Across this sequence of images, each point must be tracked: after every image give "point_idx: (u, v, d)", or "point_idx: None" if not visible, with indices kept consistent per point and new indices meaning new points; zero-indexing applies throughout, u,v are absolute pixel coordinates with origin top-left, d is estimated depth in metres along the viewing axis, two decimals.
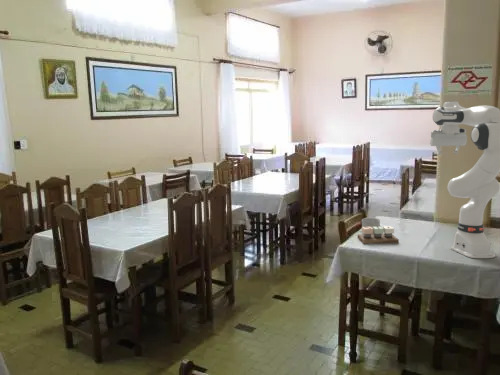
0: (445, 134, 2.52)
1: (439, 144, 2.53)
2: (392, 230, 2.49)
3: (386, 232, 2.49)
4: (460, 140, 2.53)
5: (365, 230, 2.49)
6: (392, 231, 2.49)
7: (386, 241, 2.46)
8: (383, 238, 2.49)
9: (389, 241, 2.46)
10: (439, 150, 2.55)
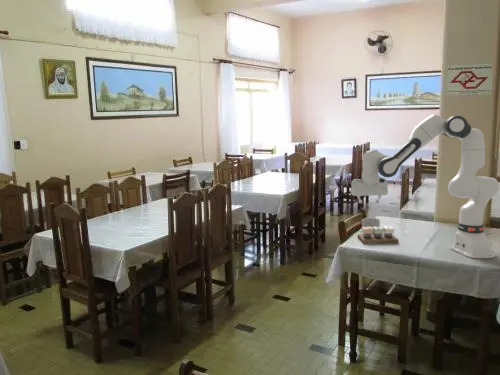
0: (365, 184, 2.45)
1: (359, 194, 2.46)
2: (392, 230, 2.49)
3: (386, 232, 2.49)
4: (381, 190, 2.46)
5: (365, 230, 2.49)
6: (392, 231, 2.49)
7: (386, 241, 2.46)
8: (383, 238, 2.49)
9: (389, 241, 2.46)
10: (359, 199, 2.48)
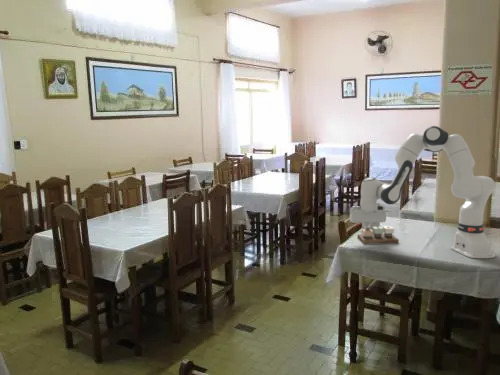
0: (363, 211, 2.48)
1: (358, 221, 2.49)
2: (392, 230, 2.49)
3: (386, 232, 2.49)
4: (379, 217, 2.49)
5: (365, 232, 2.49)
6: (392, 231, 2.49)
7: (386, 241, 2.46)
8: (383, 238, 2.49)
9: (389, 241, 2.46)
10: (365, 226, 2.50)
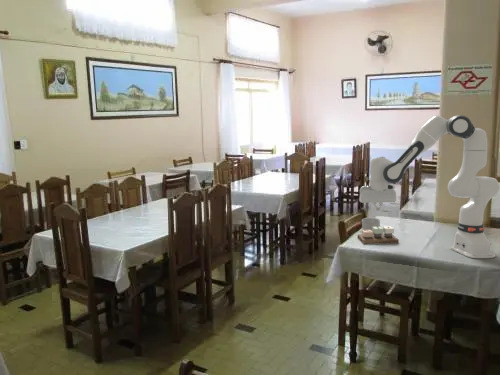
0: (373, 190, 2.44)
1: (368, 201, 2.45)
2: (392, 230, 2.49)
3: (386, 232, 2.49)
4: (389, 196, 2.45)
5: (365, 233, 2.49)
6: (392, 231, 2.49)
7: (386, 241, 2.46)
8: (383, 238, 2.49)
9: (389, 241, 2.46)
10: (375, 207, 2.46)
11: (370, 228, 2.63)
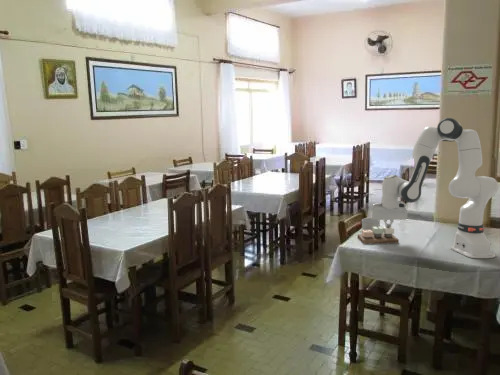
0: (385, 208, 2.48)
1: (379, 218, 2.49)
2: (392, 230, 2.49)
3: (386, 232, 2.49)
4: (400, 214, 2.49)
5: (365, 233, 2.49)
6: (392, 232, 2.49)
7: (386, 241, 2.46)
8: (383, 238, 2.49)
9: (389, 241, 2.46)
10: (386, 224, 2.51)
11: (370, 228, 2.63)
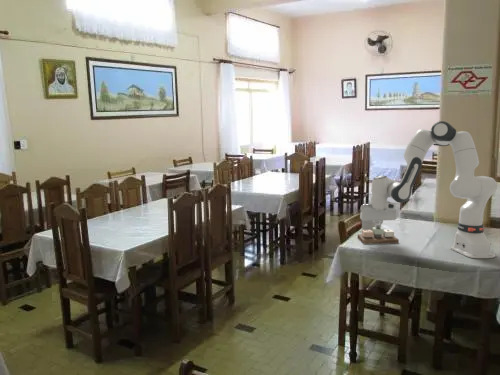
0: (374, 209, 2.48)
1: (368, 219, 2.49)
2: (392, 233, 2.49)
3: (386, 235, 2.49)
4: (390, 215, 2.49)
5: (365, 233, 2.49)
6: (392, 234, 2.49)
7: (386, 241, 2.46)
8: (383, 238, 2.49)
9: (389, 241, 2.46)
10: (376, 224, 2.51)
11: (370, 228, 2.63)
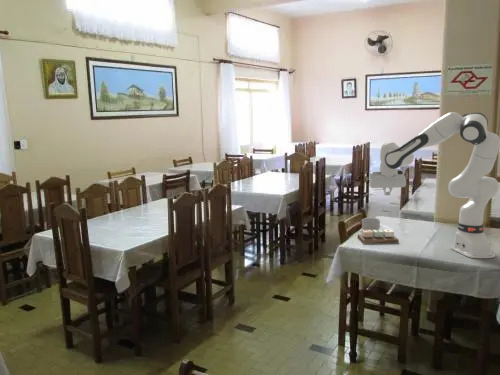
0: (383, 176, 2.49)
1: (378, 186, 2.49)
2: (392, 233, 2.49)
3: (386, 235, 2.49)
4: (399, 182, 2.49)
5: (365, 233, 2.49)
6: (392, 234, 2.49)
7: (386, 241, 2.46)
8: (383, 238, 2.49)
9: (389, 241, 2.46)
10: (385, 192, 2.51)
11: (370, 228, 2.63)
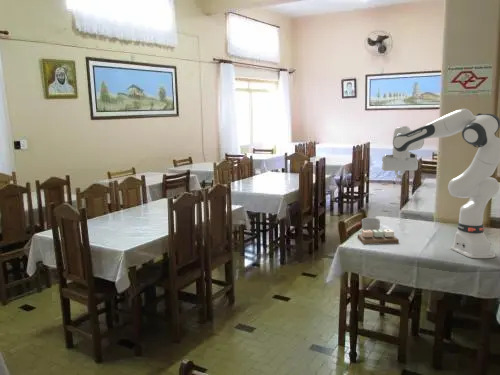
0: (396, 159, 2.54)
1: (390, 169, 2.55)
2: (392, 233, 2.49)
3: (386, 235, 2.49)
4: (411, 165, 2.55)
5: (365, 233, 2.49)
6: (392, 234, 2.49)
7: (386, 241, 2.46)
8: (383, 238, 2.49)
9: (389, 241, 2.46)
10: (397, 174, 2.56)
11: (370, 228, 2.63)
